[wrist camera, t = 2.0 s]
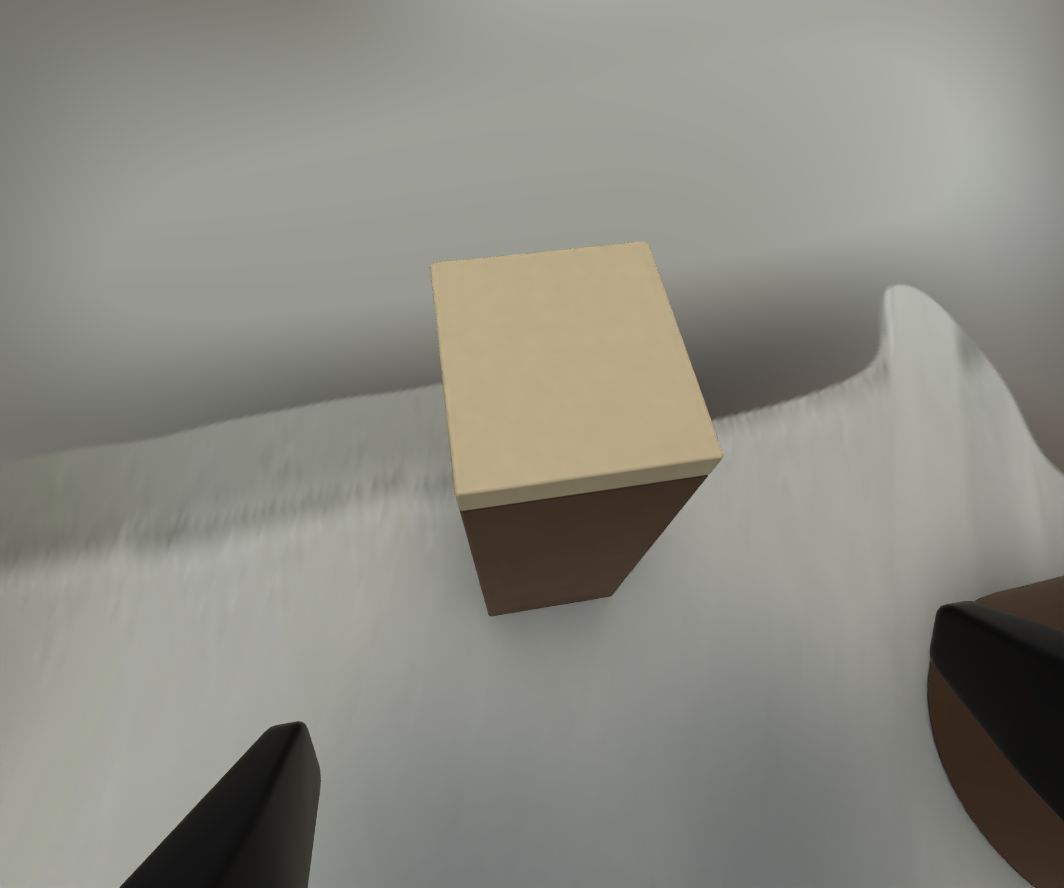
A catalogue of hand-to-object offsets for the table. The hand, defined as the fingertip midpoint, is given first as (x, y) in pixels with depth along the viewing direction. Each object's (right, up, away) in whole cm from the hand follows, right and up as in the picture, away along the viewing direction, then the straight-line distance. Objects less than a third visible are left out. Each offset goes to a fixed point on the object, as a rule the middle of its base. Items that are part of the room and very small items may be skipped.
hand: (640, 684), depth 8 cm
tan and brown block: (-1, 0, +13) cm, 13 cm away
